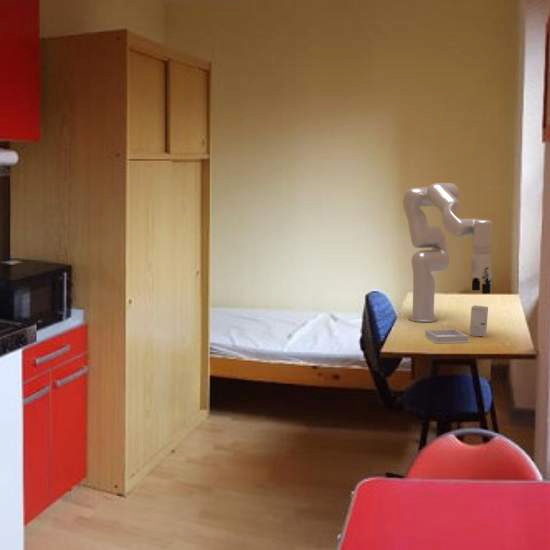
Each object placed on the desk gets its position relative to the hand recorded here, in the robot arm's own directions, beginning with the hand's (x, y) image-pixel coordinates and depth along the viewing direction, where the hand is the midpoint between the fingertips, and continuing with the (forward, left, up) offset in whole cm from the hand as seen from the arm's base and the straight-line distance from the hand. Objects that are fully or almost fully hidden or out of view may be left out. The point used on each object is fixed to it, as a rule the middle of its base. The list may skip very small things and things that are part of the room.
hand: (480, 291), depth 321 cm
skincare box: (0, 0, -19) cm, 19 cm away
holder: (+5, -16, -18) cm, 25 cm away
